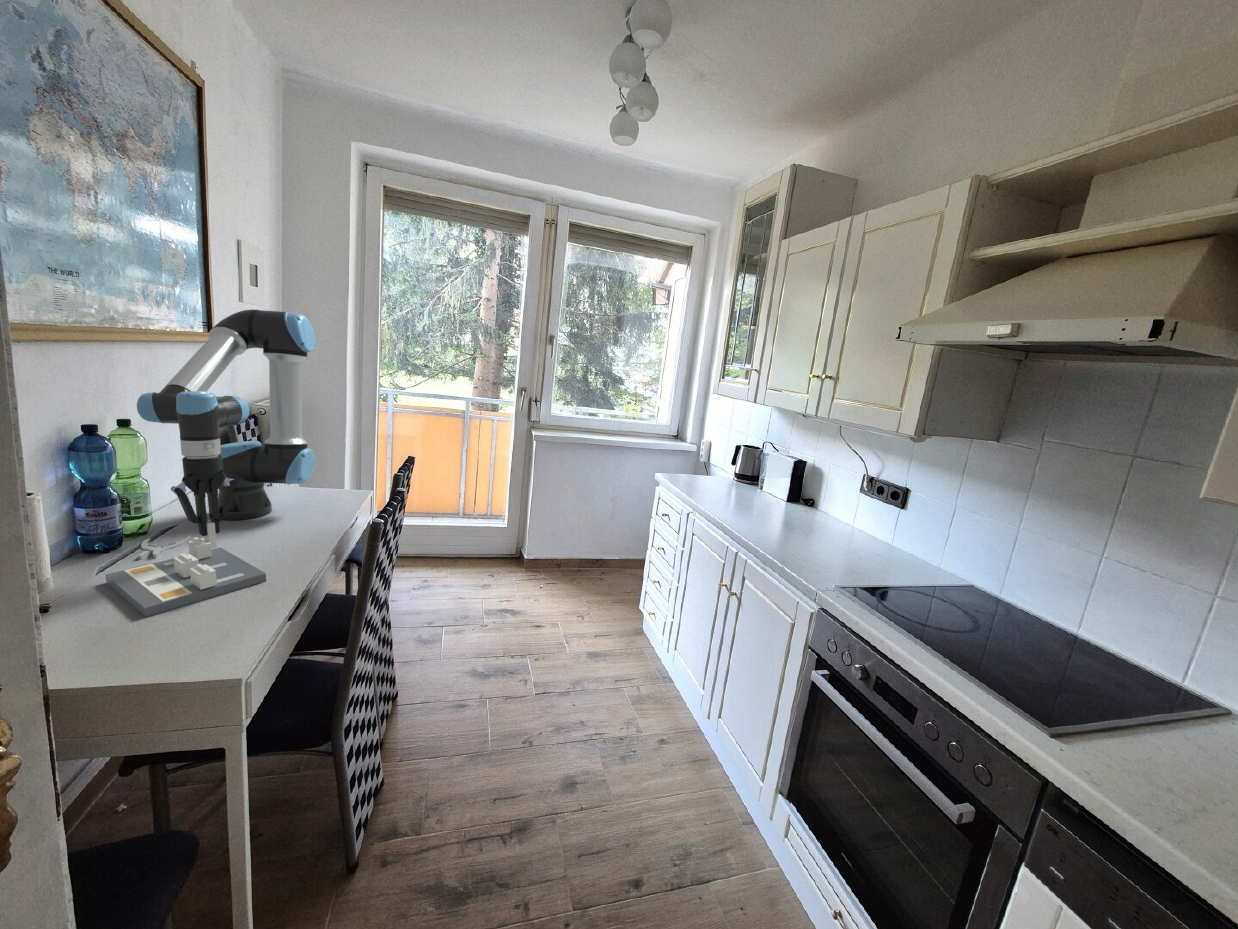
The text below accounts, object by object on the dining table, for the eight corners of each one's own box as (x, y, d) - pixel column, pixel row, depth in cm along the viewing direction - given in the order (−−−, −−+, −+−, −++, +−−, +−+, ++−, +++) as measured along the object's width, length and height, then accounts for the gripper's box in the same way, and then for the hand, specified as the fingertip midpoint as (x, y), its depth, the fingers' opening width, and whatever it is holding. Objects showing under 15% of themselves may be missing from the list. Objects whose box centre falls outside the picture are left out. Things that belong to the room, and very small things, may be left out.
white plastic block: (207, 578, 115) (205, 561, 114) (217, 585, 113) (215, 568, 112) (191, 583, 113) (189, 566, 112) (200, 589, 110) (199, 572, 109)
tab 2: (191, 567, 120) (189, 551, 119) (200, 573, 117) (198, 557, 116) (175, 571, 117) (173, 555, 116) (183, 577, 115) (182, 561, 114)
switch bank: (221, 554, 133) (220, 546, 133) (266, 581, 121) (265, 572, 120) (106, 582, 115) (105, 573, 114) (145, 617, 102) (144, 607, 102)
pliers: (191, 532, 142) (172, 552, 129) (192, 538, 143) (172, 558, 129) (146, 535, 138) (121, 556, 125) (147, 541, 139) (122, 562, 125)
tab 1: (203, 551, 129) (202, 535, 128) (212, 556, 127) (210, 540, 126) (189, 554, 127) (187, 539, 126) (197, 559, 124) (196, 544, 123)
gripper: (174, 461, 116) (185, 558, 121) (240, 454, 127) (247, 543, 132) (161, 456, 119) (172, 550, 124) (226, 450, 130) (234, 536, 135)
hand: (211, 546), depth 128 cm, fingers closed
